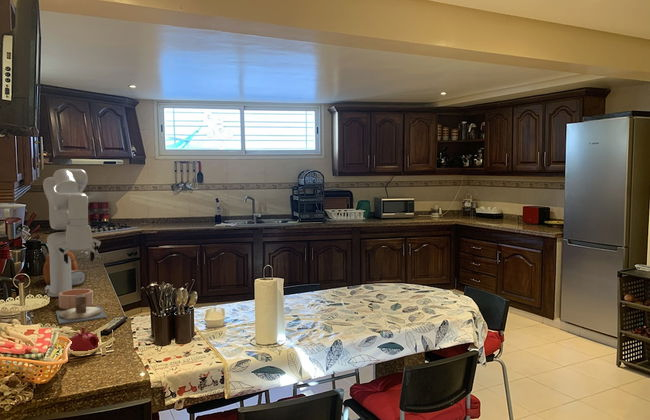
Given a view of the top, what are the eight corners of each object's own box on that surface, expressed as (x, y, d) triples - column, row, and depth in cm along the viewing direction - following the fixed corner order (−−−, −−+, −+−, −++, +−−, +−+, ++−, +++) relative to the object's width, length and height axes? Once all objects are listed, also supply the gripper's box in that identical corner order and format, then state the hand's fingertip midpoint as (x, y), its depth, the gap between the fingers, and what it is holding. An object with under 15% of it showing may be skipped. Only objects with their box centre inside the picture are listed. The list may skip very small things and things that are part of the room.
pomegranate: (66, 361, 161) (64, 334, 160) (68, 351, 170) (67, 325, 170) (99, 356, 165) (98, 329, 164) (100, 346, 174) (98, 321, 173)
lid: (61, 321, 202) (60, 302, 201) (58, 312, 215) (58, 294, 215) (103, 315, 210) (103, 297, 210) (98, 307, 224) (98, 289, 223)
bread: (77, 275, 296) (76, 247, 294) (78, 282, 277) (77, 252, 276) (44, 278, 287) (43, 249, 286) (42, 285, 269) (41, 255, 267)
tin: (84, 283, 275) (84, 268, 275) (87, 283, 273) (87, 269, 273) (56, 287, 264) (56, 272, 263) (59, 288, 262) (58, 273, 261)
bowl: (52, 307, 224) (51, 294, 223) (73, 300, 238) (73, 288, 237) (79, 309, 221) (79, 296, 221) (99, 301, 235) (98, 289, 235)
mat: (55, 312, 216) (55, 311, 216) (100, 307, 226) (100, 305, 226) (59, 324, 199) (59, 323, 199) (106, 318, 209) (106, 316, 209)
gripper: (56, 224, 202) (57, 265, 203) (101, 222, 211) (102, 261, 212) (54, 222, 208) (56, 262, 210) (99, 221, 217) (100, 259, 219)
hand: (79, 262), depth 211 cm, fingers open, 9 cm apart
